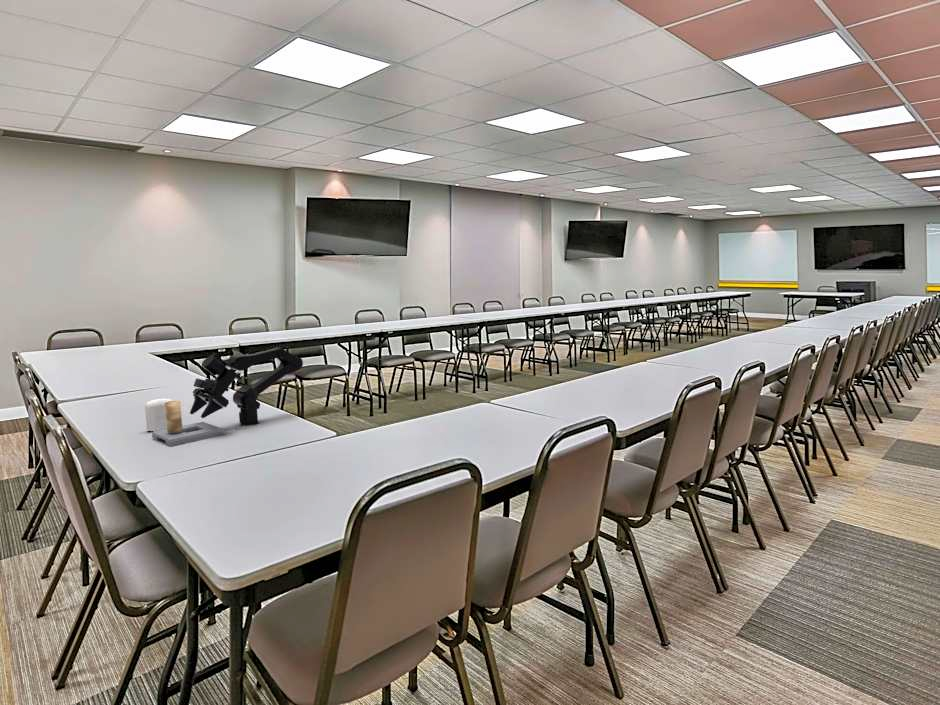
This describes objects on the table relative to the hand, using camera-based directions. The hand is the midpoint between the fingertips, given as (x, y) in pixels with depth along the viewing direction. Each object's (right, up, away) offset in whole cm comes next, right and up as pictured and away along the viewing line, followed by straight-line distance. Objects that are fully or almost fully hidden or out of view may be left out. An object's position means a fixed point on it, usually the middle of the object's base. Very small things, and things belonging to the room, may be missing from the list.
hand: (196, 415), depth 219 cm
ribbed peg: (-5, -8, -5) cm, 11 cm away
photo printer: (-17, -7, +8) cm, 21 cm away
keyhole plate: (-2, -8, -2) cm, 8 cm away
